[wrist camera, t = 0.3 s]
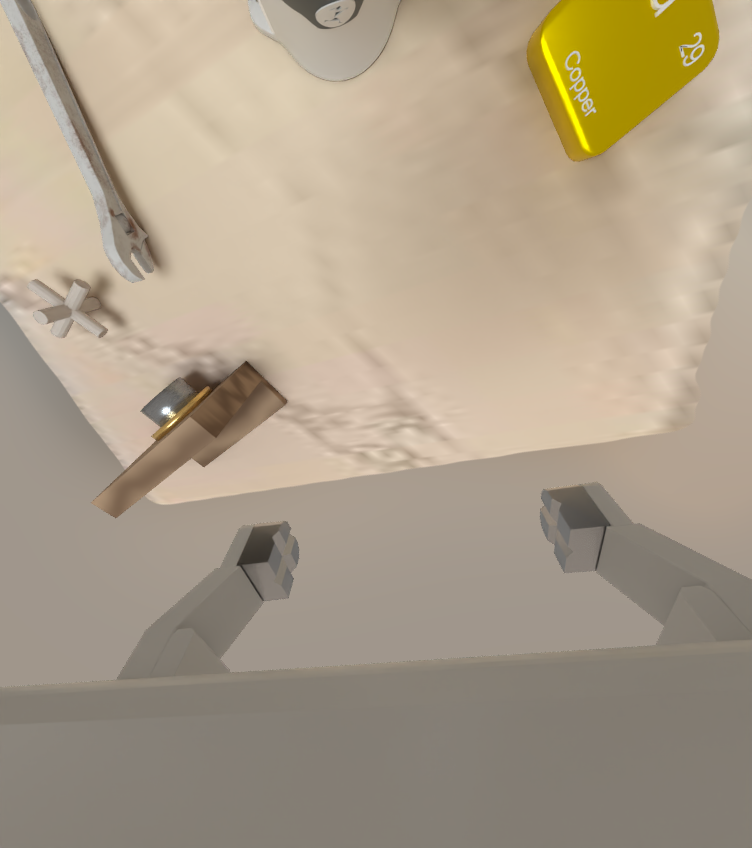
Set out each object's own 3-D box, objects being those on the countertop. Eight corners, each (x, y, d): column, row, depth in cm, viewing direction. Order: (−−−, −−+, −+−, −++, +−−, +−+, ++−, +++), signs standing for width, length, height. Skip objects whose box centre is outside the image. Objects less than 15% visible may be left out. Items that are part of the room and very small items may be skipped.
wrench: (52, 10, 39) (168, 279, 51) (39, 15, 40) (157, 282, 51) (-25, -50, 32) (131, 280, 44) (-41, -43, 32) (119, 283, 44)
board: (166, 431, 66) (90, 502, 49) (246, 360, 58) (190, 416, 41) (207, 462, 70) (150, 539, 53) (287, 401, 62) (251, 467, 45)
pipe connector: (74, 254, 50) (10, 259, 41) (138, 302, 54) (91, 317, 45) (51, 303, 54) (-11, 317, 45) (112, 345, 57) (65, 366, 49)
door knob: (160, 397, 62) (116, 431, 51) (200, 360, 58) (161, 389, 48) (183, 416, 64) (144, 452, 53) (223, 381, 60) (190, 413, 50)
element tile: (518, 47, 39) (534, 25, 35) (653, -90, 34) (691, -134, 30) (571, 170, 44) (591, 164, 40) (693, 68, 39) (729, 50, 35)
